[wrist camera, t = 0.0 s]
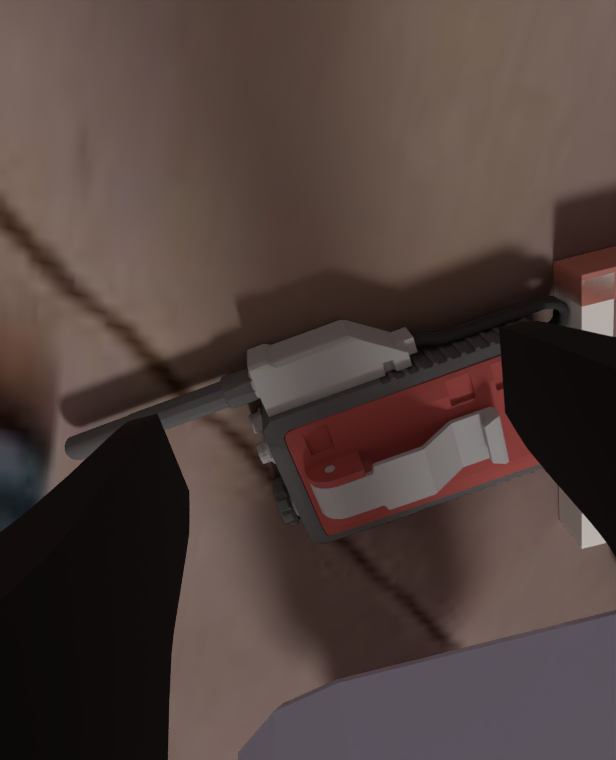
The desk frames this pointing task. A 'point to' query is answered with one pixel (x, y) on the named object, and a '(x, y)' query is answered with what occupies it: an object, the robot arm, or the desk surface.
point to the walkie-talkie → (369, 418)
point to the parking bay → (594, 314)
